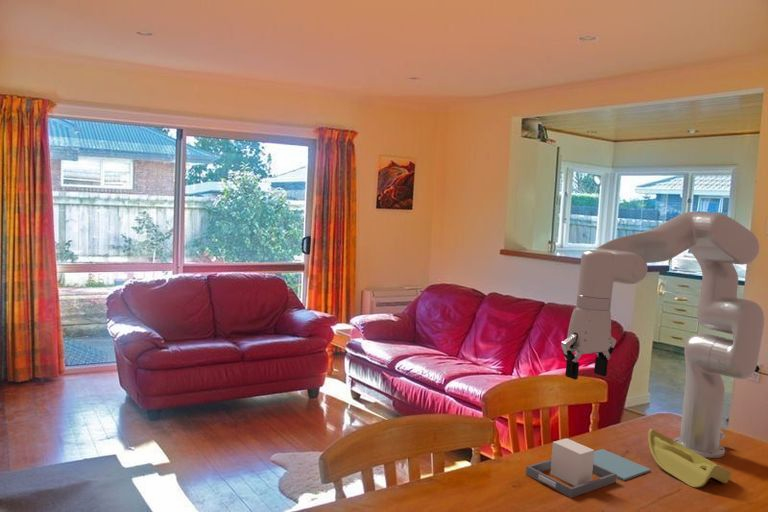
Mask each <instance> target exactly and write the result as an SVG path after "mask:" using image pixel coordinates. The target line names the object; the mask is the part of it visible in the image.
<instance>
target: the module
mask: <svg viewBox="0 0 768 512" xmlns="http://www.w3.org/2000/svg"><path fill="white" fill-rule="evenodd" d="M551 449H552V450H551V469H550V470H549V471H550V473H549V474H550V475H551V476H553V477H556V478H557V479H559V480H561V481H563V482H565V483H567V484H570V485H571V486H572V487H574V486H577V485H580V484H583V483H586V482H589V481H592V480H593V473H592V472H593V460H594V451H595V449H592V448H590V447H588V446H586V445H583V444H581V443H578V442H577V441H574V440H572V439H570V438H562V439H559V440H556V441H552V448H551Z"/></svg>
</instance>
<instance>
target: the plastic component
mask: <svg viewBox="0 0 768 512" xmlns="http://www.w3.org/2000/svg"><path fill="white" fill-rule="evenodd" d="M647 436H648V437H647V440H648V447H649V450H650V453H651V455H652V457H653V459H654V461H655V462H656V463H657V465H659V467H661V469H663V470H664V471H665V472H667V473H668V474H670V475H672V476H673V477H675V478H676V479H678V480H680V481H682V482H683V483H685V484H687V485H688V486H690V487H691V488H694V489H695V488H696V489H698V488H701V487H704V486H705V485H706V484H707V482H708V481H709V480H710V479H711V478H713V479H715V480H716V481H718V482H719V483H720V482H721V483H722V484H727V483H728V482H729V479H730V477H731V476H732V474H733V472H731V471H730V470H728V469H726V468H724V467H722V466H721V465H719V464H717V463H715V462H713V461H711V460H710V459H709V458H706V457H703V456H701V455H699V454H697V453H695V452H693V451H692V450H690V449H688V448H686V447H684V446H682V445H681V444H679V443H677V442H675V441H673V440H674V439H671V438H669V437H668V436H666V435H664V434H662V433H660V432H658V431H656V430H655V429H653V428H650V429H648V432H647Z"/></svg>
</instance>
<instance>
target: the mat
mask: <svg viewBox="0 0 768 512" xmlns="http://www.w3.org/2000/svg"><path fill="white" fill-rule="evenodd" d="M593 464H596V465H598V466H600V467H602V468H604V469H607V470H609V471H611V472H613V473H616V474H617V476H616V479H619V480H621V481H627V480H629V479H632V478H633V479H634V478H636V477H637V476H638V477H639V476H642V475H643V474H646V473H649V472H651V471H652V469H651V468H649V467H646V466H644V465H641V464H639V463H637V462H634V461H632V460H630V459H628V458H625V457H623V456H620V455H618V454H616V453H614V452H611V451H609V450H606V449H604V448H601V449H598V450H594V460H593Z"/></svg>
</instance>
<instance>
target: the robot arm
mask: <svg viewBox="0 0 768 512" xmlns="http://www.w3.org/2000/svg"><path fill="white" fill-rule="evenodd" d="M687 250H689V251H690V252H691V254H692V256H693V257H694V258H695V259H696V261H697V263H698V265H699V267H700V269H701V274H702V278H701V279H702V280H701V281H702V282H701V287H700V293H699V300H698V305H697V311H696V319H697V320H696V321H697V322H698V324H699V326H701V327H702V328H705V329H708V330H712V331H715V332H720V333H724V334H729V335H733V336H732V337H733V338H732V339H731V338H726V337H723V336H719V335H714V334H711V333H710V334H709V333H696V334H693V335H691V336H689V337H688V339H686V342H685V345H684V362H685V382H684V383H685V384H684V393H683V403H682V411H681V412H682V413H681V423H680V433H679V436H677V437H674V439H672V440H673V441H675V442H677V443H679V444H681V445H682V446H684V447H686V448H688V449H690V450H692V451H693V452H695V453H697V454H699V455H701V456H703V457H704V458H706V459H717V458H719V459H720V458H722V457H724V456H725V454H726V450H725V448H724V447H723V446H722V445H720V440H722V439H724V438H725V437H726V433H725V432H724V431H722V430H721V428H722V420H723V418H722V417H723V409H724V400H725V393H726V392H725V390H726V389H725V384H724V380H723V378H722V376H725V377H729V378H733V379H735V380H736V379H737V380H747V379H749V378H751V377H752V375H753V374H754V373H755V371H756V369H757V366H758V362H759V356H760V350H761V345H762V339H763V334H764V328H765V327H764V326H765V315H764V311H763V309H762V307H761V305H759V304H758V303H757V302H755V301H753V300H751V299H750V300H749V299H745V298H739V297H738V296H737V295H738V287H739V275H738V272H737V269H736V267H735V266H734V265H740V266H742V265H748V264H750V263H752V262H754V260H755V259H756V258H757V257H758V255H759V252H760V243H759V240H758V238H757V236H756V235H755V233H754V232H752V231H751V230H750V229H748V228H747V227H745V226H744V225H742V224H741V223H739V222H738V221H737V220H735V219H734V218H732V217H731V216H728V215H726V214H723V213H719V212H703V211H687V212H683V213H680V214H679V215H676V216H674V217H672V218H671V219H669V220H667V221H666V222H663V223H662V224H660V225H658V226H656V227H654V228H652V229H648V230H644V231H640V232H635V233H632V234H629V235H624V236H621V237H617V238H614V239H612V240H609V241H607V242H605V243H603V244H601V245H599V246H597V247H596V248H594V249H589V250H585V251H583V253H582V254H581V259H580V267H579V277H578V287H577V294H576V295H577V297H576V304H575V305H576V306H575V308H573V311H572V313H571V316H570V319H569V320H570V321H569V324H568V325H569V326H568V330H567V337H566V339H564V340H563V341H561V346H560V347H561V348H562V354H563V355H564V360H566V363H565V364H566V365H565V374H564V376H565V377H567V378H570V379H572V380H578V379H579V372H580V371H579V368H580V362H579V359H580V358H581V357H582V355H584V354H597V356H595V359H594V368H593V373H594V374H596V375H598V376H601V377H606V376H607V374H608V363H609V360H611V354H612V353H613V352H614V348H615V346H616V343H617V339H616V338H614V337H613V336H612V312H611V305H612V297H613V288H614V283H619V284H624V285H635V284H638V283H640V282H642V281H643V280H644V279H645V278H646V276H647V273H648V267H649V266H648V264H649V263H650V264H651V263H653V264H654V263H660V262H666V261H669V260H672V259H674V258H676V257H678V255H680V254H682V253H685V252H686V251H687ZM721 375H722V376H721Z"/></svg>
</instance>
